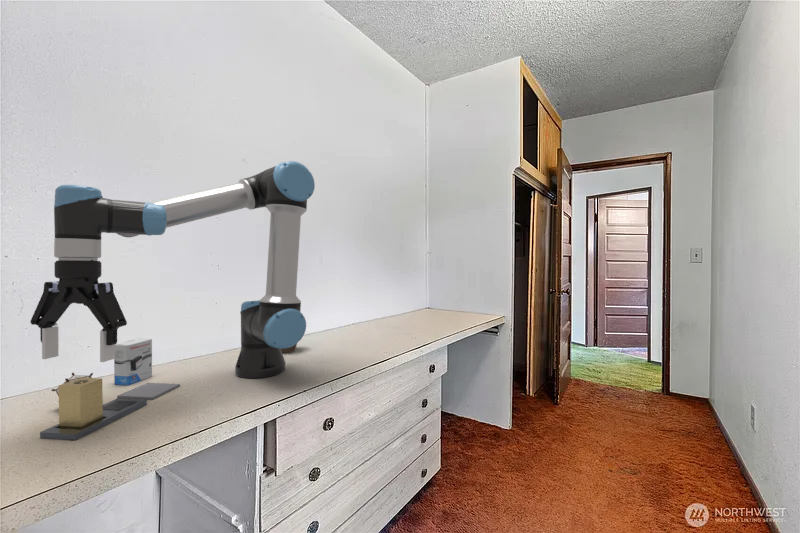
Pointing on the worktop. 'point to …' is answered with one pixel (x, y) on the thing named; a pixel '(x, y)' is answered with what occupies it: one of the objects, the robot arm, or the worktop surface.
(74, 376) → the game die
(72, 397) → the brass block with hole
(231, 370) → the worktop surface
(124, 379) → the ink box
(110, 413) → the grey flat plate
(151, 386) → the pad
